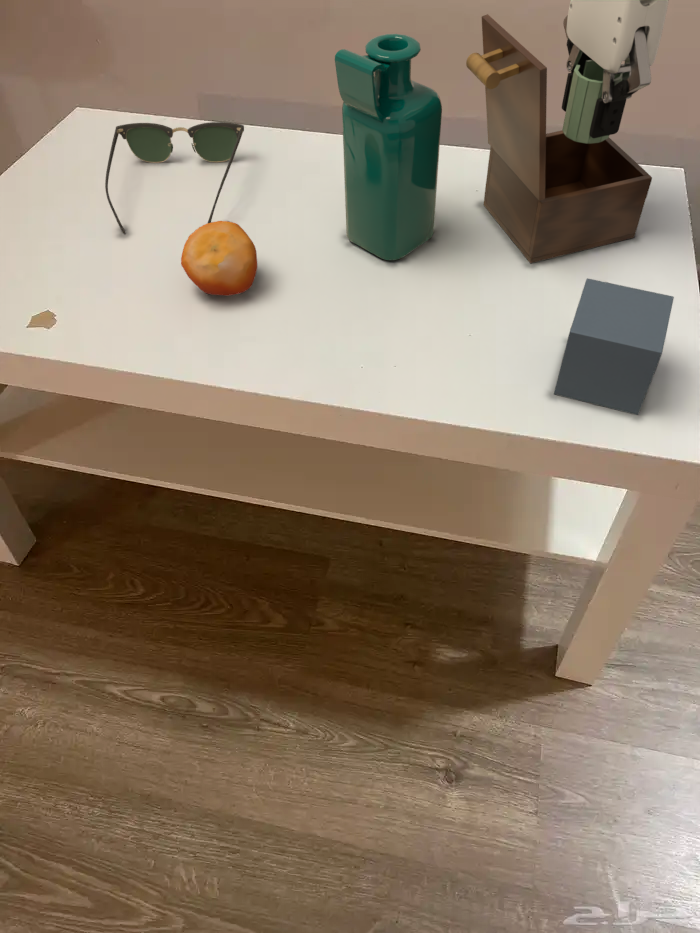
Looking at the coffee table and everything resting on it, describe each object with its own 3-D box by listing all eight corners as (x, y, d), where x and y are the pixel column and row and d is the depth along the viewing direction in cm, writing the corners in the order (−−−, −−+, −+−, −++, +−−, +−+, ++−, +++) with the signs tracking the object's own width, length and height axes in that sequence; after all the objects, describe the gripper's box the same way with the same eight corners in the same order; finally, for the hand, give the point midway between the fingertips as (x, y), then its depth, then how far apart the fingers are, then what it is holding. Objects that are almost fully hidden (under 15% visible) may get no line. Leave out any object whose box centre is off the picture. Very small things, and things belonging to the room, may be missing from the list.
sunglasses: (96, 234, 94) (84, 197, 90) (126, 158, 104) (116, 122, 100) (233, 234, 93) (226, 196, 89) (248, 157, 104) (243, 121, 100)
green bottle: (387, 206, 96) (390, 13, 79) (440, 234, 92) (455, 38, 75) (331, 242, 92) (320, 47, 74) (384, 273, 88) (386, 74, 71)
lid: (487, 13, 78) (448, 28, 78) (547, 67, 71) (503, 84, 71) (493, 141, 89) (458, 154, 89) (545, 198, 82) (507, 213, 82)
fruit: (268, 243, 89) (254, 211, 82) (262, 310, 88) (247, 284, 81) (199, 240, 90) (179, 208, 82) (192, 306, 89) (171, 280, 81)
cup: (613, 123, 86) (628, 63, 81) (605, 146, 83) (620, 85, 78) (567, 116, 87) (580, 56, 82) (558, 138, 84) (570, 78, 79)
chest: (580, 182, 98) (594, 123, 92) (634, 237, 91) (652, 177, 85) (483, 204, 96) (490, 145, 90) (530, 263, 88) (541, 203, 82)
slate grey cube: (650, 359, 78) (674, 296, 72) (638, 415, 74) (662, 352, 68) (570, 341, 80) (586, 277, 74) (553, 394, 76) (569, 331, 69)
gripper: (727, -48, 66) (663, 154, 80) (619, -110, 76) (580, 79, 90) (648, -34, 64) (598, 169, 79) (549, -99, 74) (521, 91, 89)
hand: (589, 119), depth 84 cm, fingers closed on cup, 5 cm apart
